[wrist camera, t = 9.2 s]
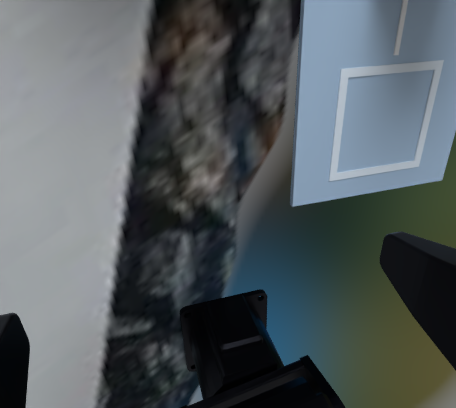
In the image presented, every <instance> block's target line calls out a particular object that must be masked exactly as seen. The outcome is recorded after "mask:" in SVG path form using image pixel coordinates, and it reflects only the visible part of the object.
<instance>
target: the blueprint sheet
mask: <svg viewBox="0 0 456 408" xmlns="http://www.w3.org/2000/svg"><path fill="white" fill-rule="evenodd" d="M455 131H456V0H301V11H300V29H299V48H298V66H297V85H296V104H295V122H294V141H293V159H292V178H291V195H290V205H291V206H293V207H294V206H300V205H305V204H310V203H317V202H322V201H328V200H334V199H339V198H345V197H350V196H356V195H362V194H367V193H373V192H378V191H384V190H390V189H395V188H401V187H407V186H413V185H418V184H424V183H429V182H434V181H441V180H442V179H443V175H444V171H445V168H446V164H447V160H448V156H449V153H450V149H451V146H452V142H453V138H454V134H455Z"/></svg>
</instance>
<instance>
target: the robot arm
mask: <svg viewBox="0 0 456 408" xmlns="http://www.w3.org/2000/svg"><path fill="white" fill-rule="evenodd" d="M380 264H381V267H382V269H383V271H384V272H385V274H386V275H387V277H388V278H389V280H390V281H391V283H392V284H393V286H394V288H395V289H396V291H397V292H398V294H399V296H400V297H401V299H402V300H403V302H404V303H405V305H406V306H407V308H408V309H409V311H410V312H411V314H412V315H413V317H414V318H415V319H416V320H417V322H418V323H419V324H420V326H421V327H422V328H423V330H424V331H425V332H426V333H427V335H428V336H429V337H430V338H431V340H432V341H433V342H434V343H435V345H436V346H437V347H438V349H439V350H440V351H441V352H442V354H443V355H444V356H445V357H446V359H447V360H448V361H449V363H450V364H451V365H452V366H453V368H454V369H455V370H456V249H455V248H451V247H448V246H445V245H442V244H439V243H436V242H433V241H430V240H426V239H423V238H420V237H417V236H414V235H410V234H408V233H404V232H395V233H390V234H387V235H386V236H385V237H384V240H383V245H382V250H381V255H380ZM259 296H261V297H259ZM186 313H188V314H186ZM180 319H181V326H182V334H183V341H184V349H185V356H186V364H187V368H188V370H189V371H196V372H197V376H198V380H199V384H200V388H201V392H202V397H203V400H202V401H199V402H197V403H194V404H192V405H189V406H187V405H185V406H183V407H181V408H345V406H344V405H343V403H342V401H341V400H340V398H339V397H338V396H337V394H336V393H335V391H334V390H333V389H332V387H331V386H330V385H329V383H328V382H327V381H326V379H325V378H324V376H323V375H322V374H321V372H320V371H319V370H318V368H317V367H316V366H315V364H314V363H313V362H312V360H311V359H310V357H309V356H308V355H307V356H304V357H302V358H300V360H298V361H296V362H294V363H291V364H289V365H286V366H284V365H283V363H282V361H281V358H280V356H279V354H278V353H277V350H276V348H275V346H274V344H273V342H272V340H271V338H270V336H269V334H268V332H267V330H266V324H267V323H266V322H267V321H266V320H267V295H266V293H265V291H264V290H255V291H251V292H247V293H242V294H238V295H233V296H229V297H225V298H220V299H216V300H211V301H207V302H203V303H198V304H194V305H190V306H186V307H183V308H182V309H181V310H180ZM29 354H30V345H29V340H28V337H27V335H26V332H25V330H24V328H23V325H22V323H21V321H20V318H19V316H18V315H17V314H15V313H9V314H4V315H0V408H25V406H26V393H27V380H28V367H29Z"/></svg>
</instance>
